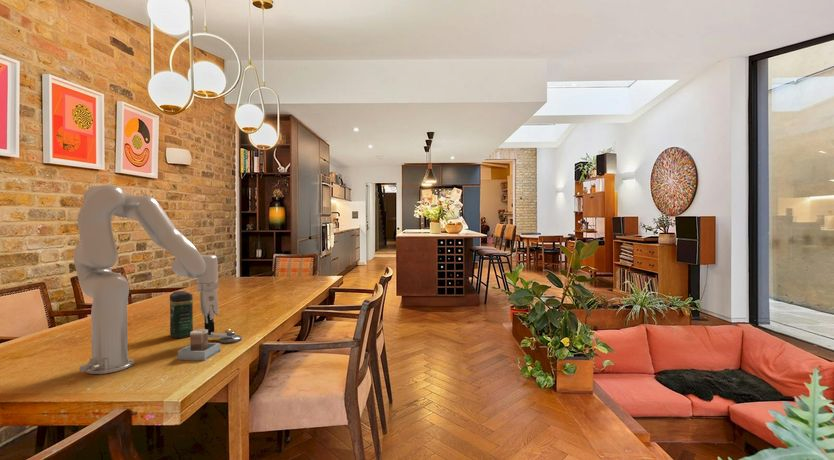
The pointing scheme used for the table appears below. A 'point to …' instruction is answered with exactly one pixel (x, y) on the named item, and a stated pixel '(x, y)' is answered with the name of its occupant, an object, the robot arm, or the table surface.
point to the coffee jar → (181, 314)
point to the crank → (222, 335)
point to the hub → (231, 339)
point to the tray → (198, 352)
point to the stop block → (199, 340)
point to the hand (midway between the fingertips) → (209, 332)
